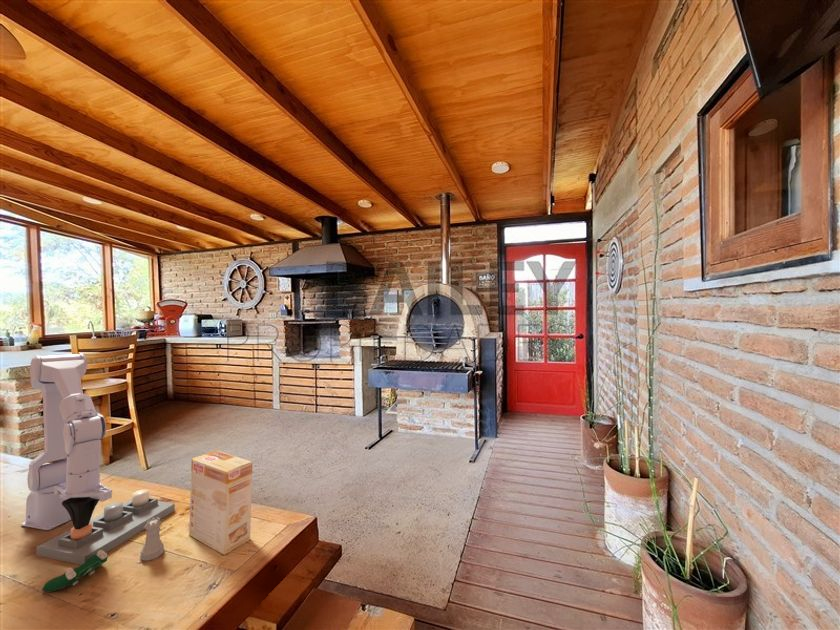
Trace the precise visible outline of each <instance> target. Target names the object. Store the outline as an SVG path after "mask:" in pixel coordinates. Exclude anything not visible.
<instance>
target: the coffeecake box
mask: <svg viewBox="0 0 840 630" xmlns="http://www.w3.org/2000/svg"><path fill="white" fill-rule="evenodd" d="M253 463H254V462H253V461H252V460H248V459H245V458H241V457H239V456H237V455H232V454H229V453H227V452H224V451H220V450H214V451H210V452H208V453H205V454H202V455H199V456H195V457H193V458H191V465H190V466H191V469H190V499H189V501H190V503H189V505H190V506H189V527H188V529H189V531H188V533H189V534H188V536H190V537H192V538H194V539H196V540H197V541H199V542H201V543H203V544H205V545H206V546H208V547H210V549H213V550H215V551H216V552H219V553H220V554H222V555H224V556H225V555H227V554H228V553H230V552H232V551H233V550H234V549H236V548H238V547H240V546H242V545H243V544H245V543H247V542H248V541H251V527H252V526H251V524H252V523H251V522H252V518H251V517H252V493H253V492H252V490H253V488H252V487H253Z"/></svg>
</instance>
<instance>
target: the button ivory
mask: <svg viewBox="0 0 840 630" xmlns="http://www.w3.org/2000/svg"><path fill="white" fill-rule="evenodd" d="M149 497H150V490H149V489H140V490H136V491H135V492H133V493H132V497H131V499H132V507H140V506H143V505H145V504H147V503H148V502H149Z"/></svg>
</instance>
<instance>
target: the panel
mask: <svg viewBox="0 0 840 630" xmlns="http://www.w3.org/2000/svg"><path fill="white" fill-rule="evenodd" d="M122 503H123V516H122V517H121V518H119V519H117V520H115V521H112V522H104V512H103V513H100V514H98V515H96V516H95V517H93V518H92V517H91V519H90V522H92V533H91V534H89V535H88V536H86V537H84V538H82V539H80V540H78V541H77V540H72V539H71V529H69V530H67V531H64V532H62V533H61V534H59V535H57V536H54V537H53V538H51V539H49V540H47V541H44V542H42V544H39V545H37V546H36V552H35V553H36V556H38V557H43V558H48V559H53V560H56V561H61V562H62V561H63V562H66V563H70V564H71V563H72V564H75V565H79V566H81V565H82V564H84V563H86V562H87V561H88V559H89V557H91V556H92V555H94V554H97V553H98V551H99V550H103V551H104V552H105V553H106V554H107V553H108V552H109V551H111V550H112V549H114V548H116V547H118V546H119V545H121V544H122V543H124V542H126V541H128V540H129V539H131V538H132V537H134V536H135V535H137V534H139V533H141V532H143V530H146V529H145V528H144V526H145V525H146V523H147V522H148V520H149V519H150V521H151V520H152V518H155V519H156V518H157V517H159V518H160V520H162V519H163V518H165V517H166V516H168V515H169V514H172V513H173V512H174V511H175V506H176V505H175V503H173V502H167V501H160V500H159V499H158V498H155V497H150V496H149V502H148V503H147V504H145V505H143V506H140V507H132V498H130V499H128V500H126V501H124V502H122Z"/></svg>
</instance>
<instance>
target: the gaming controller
mask: <svg viewBox="0 0 840 630" xmlns="http://www.w3.org/2000/svg"><path fill="white" fill-rule="evenodd" d="M108 558H109V554H107V552H106V553H105V552H104V551H103V550H99V551H98V553H97V554H94V555H92V556H91V557H89V559H88V561H87V562H86V563H84V564H82V565H79V566H78V567H76V568H72V567H68V568H67V569H66V571H65V572H64V573H63V574H61V575H59V576H56V577H54V578H53V577H52V578H51V579H49V580H47V582H46V583H44V584H43V587H42V589H41V591H42V592H50V593H51V592H54V591H59V590H61V589H63V588H66V587H67V588H68V586H72V587H74V586H76V585H77V584H78V583H80V581H79V580H80V578H82V577H84V576H91V575H93V574H94V573H95V572H96V569H97V568H99V567H101V566H102V565H103V564H105V563H106V562H107V561H108Z"/></svg>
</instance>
